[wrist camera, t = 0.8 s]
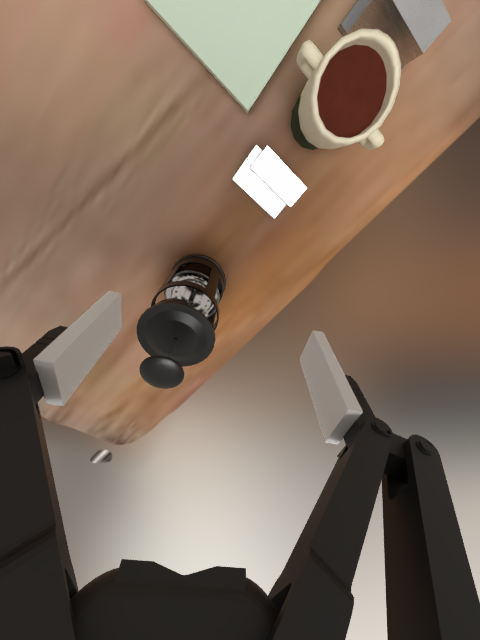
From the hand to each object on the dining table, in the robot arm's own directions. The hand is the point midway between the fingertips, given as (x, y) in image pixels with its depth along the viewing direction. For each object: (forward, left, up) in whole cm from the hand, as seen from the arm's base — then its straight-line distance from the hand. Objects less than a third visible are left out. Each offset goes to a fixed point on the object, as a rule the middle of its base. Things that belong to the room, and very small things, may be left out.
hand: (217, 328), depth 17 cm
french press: (0, -10, -26) cm, 28 cm away
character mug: (-1, +18, -26) cm, 32 cm away
